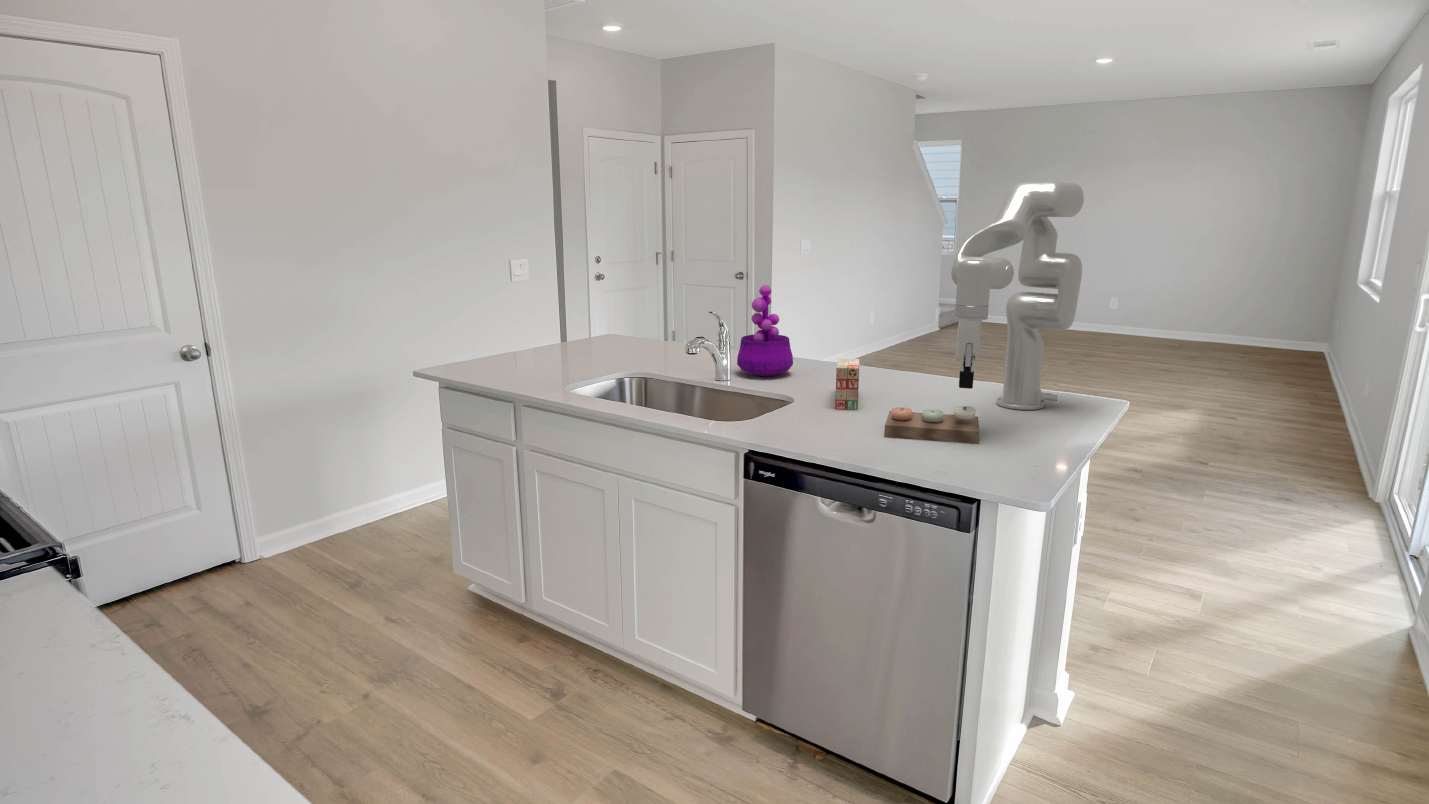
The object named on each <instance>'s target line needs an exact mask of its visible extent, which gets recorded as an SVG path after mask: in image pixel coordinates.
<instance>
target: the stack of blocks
mask: <svg viewBox="0 0 1429 804" xmlns="http://www.w3.org/2000/svg"><path fill="white" fill-rule="evenodd" d="M836 364H837V365H836V367H835V369H836V370H835V371H836V376H835V377H836V379H835V402H834V404H835V405H834V410H838V411H841V410H842V411H858V408H859V407H858V406H859V386H860V385H859V382H860V359H859V358H838V359H837V363H836Z"/></svg>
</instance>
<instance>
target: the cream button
mask: <svg viewBox="0 0 1429 804" xmlns="http://www.w3.org/2000/svg"><path fill="white" fill-rule="evenodd" d="M953 415H954V417H956V418H959V419H974V418H975V416H976V408H975V407H973V406H967V405H961V406H960V405H959V406H954V408H953Z"/></svg>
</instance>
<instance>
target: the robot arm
mask: <svg viewBox="0 0 1429 804" xmlns="http://www.w3.org/2000/svg"><path fill="white" fill-rule="evenodd" d="M1084 201H1085V194H1084V191H1083V188H1082V187H1081V186H1080V185H1079V184H1078V183H1076V182H1075V183H1074V182H1064V181H1025V182H1019V183H1016V184H1015V185H1013V186H1012V187H1011V188H1010V189H1009V191H1008V192H1007V193H1006V196H1005V198H1004V200H1003V202H1002V204H1001V206H1000V208H999V209H998V212H997V213H996V216H995V217H994V220H993V222H992V223H990V224H988V225H987V226H985V227H983V228H982V229H980V230H978V231H977V232H976V233H975V234H973V235H971V236H970V237H968V238H967V240H965V241H964V242H963V244H962V246H961V247H960V249H959V251H958V252H957V254H956V256H955V259H954V261H953V264H952V267H951V280H952V282H953V283H954V284H955V285H956V293H955V304H954V306H955V308H954V319H957V320H958V324H957V332H956V333H957V334H956V347H955V360H956V361H959V360H961V364H960V365H961V366H960V370H959V379H958V388H959V389H970V390H971V389H973V387H974V375H975V371H974V363H975V362H976V361H978V357H979V351H980V345H981V337H982V325H983V321H987V320H988V317H989V316H988V315H989V303H990V292H991V290H1002V289H1004V288H1006V287H1008V286H1009V285H1010V284H1011V283H1012V282H1013V281H1012V280H1013V278H1014V274H1015V272H1014V271H1015V269H1014V265H1013V264H1012V262H1011V261H1010V260H1008V259H1006V258H1003V257H994V256H993V257H988V256H985V255H988V254H991V253H993V252H996V251H1000V250H1003V249H1007V248H1009V247H1013V246H1016V245H1017V244H1020V243H1021V242H1022V246H1021V247H1022V248H1021V251H1020V252H1021V253H1020V259H1019V265H1018V271H1017V273H1018V276H1017V279H1018V282H1019V284H1021V285H1022V286H1024V287H1028V288H1038V289H1050V290H1051V289H1053V290H1057V293H1048V292H1047V293H1046V292H1045V293H1044V292H1036V291H1035V292H1032V291H1022V292H1021V291H1020V292H1017V293H1015V294H1012V295H1011V296H1010V297H1009V298H1008V300H1007V301H1006V307H1005V311H1006V312H1005V314H1006V324H1007V338H1006V339H1007V340H1006V341H1007V343H1006V353H1005V366H1004V377H1003V387H1002V388H1003V389H1002V395H1001V396H999V397H997V398H996V404H997V405H998V406H999V407H1003V408H1006V409H1012V410H1021V411H1036V410H1040V409H1043V408H1044V407H1045V401H1050V402H1057V401H1058V393H1057V394H1055V393H1054V394H1053V393H1051V392H1043V391H1042V389H1041V378H1042V369H1043V368H1042V367H1043V359H1044V358H1043V356H1044V350H1045V349H1044V347H1045V345H1044V340H1043V337H1042V335H1041V334H1040V333H1039V329H1043V330H1054V331H1065V330H1068V329H1069V328H1071V327H1072V325H1073V323H1074V321H1075V317H1076V311H1077V306H1078V302H1079V301H1078V300H1079V295H1080V289H1081V283H1082V276H1083V264H1082V260H1081V258H1080V257H1079V256H1078V255H1076V254H1074V253H1068V252H1056V250H1057V243H1058V236H1059V235H1058V231H1057V229H1056V228H1055V226H1054V224H1053V223H1052V221H1051V220H1050V219H1049V218H1072V217H1075V216H1076V215H1077V214H1079V212H1081V209H1082V208H1083V204H1084Z"/></svg>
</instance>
